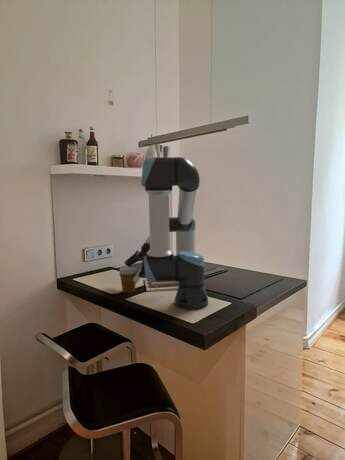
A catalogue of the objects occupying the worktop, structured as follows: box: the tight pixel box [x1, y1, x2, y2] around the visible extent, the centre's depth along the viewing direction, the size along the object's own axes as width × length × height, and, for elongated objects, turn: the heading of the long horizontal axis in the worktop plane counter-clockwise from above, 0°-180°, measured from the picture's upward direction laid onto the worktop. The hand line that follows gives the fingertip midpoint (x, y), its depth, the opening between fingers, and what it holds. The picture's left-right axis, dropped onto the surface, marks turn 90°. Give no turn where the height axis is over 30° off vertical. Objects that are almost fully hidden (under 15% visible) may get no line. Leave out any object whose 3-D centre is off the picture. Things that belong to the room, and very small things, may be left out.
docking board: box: [143, 277, 178, 293], centre depth 170 cm, size 22×22×3 cm
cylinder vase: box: [175, 230, 196, 256], centre depth 205 cm, size 12×12×25 cm
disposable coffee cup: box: [118, 265, 139, 294], centre depth 159 cm, size 10×10×12 cm
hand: (127, 278), depth 159 cm, fingers open, 13 cm apart
